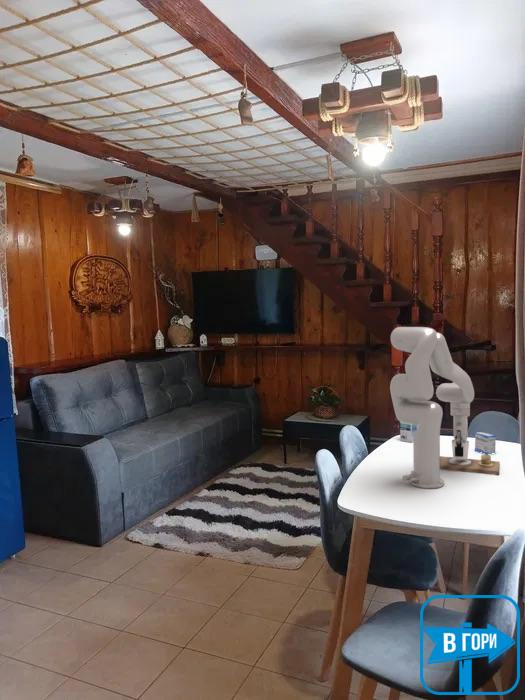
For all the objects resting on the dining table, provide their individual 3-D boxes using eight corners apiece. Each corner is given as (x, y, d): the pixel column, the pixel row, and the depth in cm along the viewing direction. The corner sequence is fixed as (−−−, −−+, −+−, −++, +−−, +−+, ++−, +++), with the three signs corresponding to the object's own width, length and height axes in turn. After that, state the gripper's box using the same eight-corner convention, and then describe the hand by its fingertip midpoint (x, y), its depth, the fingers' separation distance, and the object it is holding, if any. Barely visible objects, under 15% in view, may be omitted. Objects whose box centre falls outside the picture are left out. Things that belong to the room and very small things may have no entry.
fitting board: (435, 468, 217) (435, 456, 216) (439, 459, 229) (439, 447, 229) (498, 475, 207) (499, 461, 206) (499, 465, 219) (499, 452, 219)
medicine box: (474, 451, 241) (474, 432, 241) (481, 449, 243) (481, 431, 242) (488, 455, 234) (488, 436, 233) (495, 453, 236) (495, 434, 235)
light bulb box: (412, 443, 258) (412, 421, 257) (399, 441, 263) (399, 419, 262) (422, 438, 266) (422, 417, 265) (409, 436, 270) (409, 416, 270)
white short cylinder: (450, 458, 217) (450, 442, 217) (452, 454, 223) (452, 438, 223) (467, 460, 214) (468, 443, 214) (469, 456, 220) (470, 439, 220)
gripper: (468, 416, 208) (468, 460, 209) (471, 408, 224) (470, 449, 225) (448, 415, 211) (448, 458, 213) (452, 407, 227) (452, 448, 228)
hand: (459, 453), depth 219 cm, fingers closed on white short cylinder, 6 cm apart
